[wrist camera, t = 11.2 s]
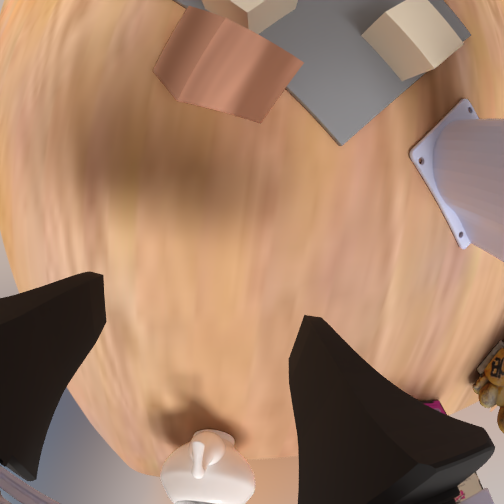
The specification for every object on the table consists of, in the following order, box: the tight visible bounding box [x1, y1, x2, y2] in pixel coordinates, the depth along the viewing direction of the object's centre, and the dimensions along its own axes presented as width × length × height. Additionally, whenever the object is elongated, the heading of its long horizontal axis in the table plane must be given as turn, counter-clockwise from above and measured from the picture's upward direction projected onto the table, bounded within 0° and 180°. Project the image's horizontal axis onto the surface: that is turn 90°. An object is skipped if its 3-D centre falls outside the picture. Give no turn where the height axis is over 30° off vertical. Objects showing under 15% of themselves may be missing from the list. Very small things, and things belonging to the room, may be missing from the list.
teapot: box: [160, 429, 255, 504], centre depth 22 cm, size 10×20×9 cm, turn 177°
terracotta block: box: [153, 6, 304, 123], centre depth 11 cm, size 4×4×5 cm
